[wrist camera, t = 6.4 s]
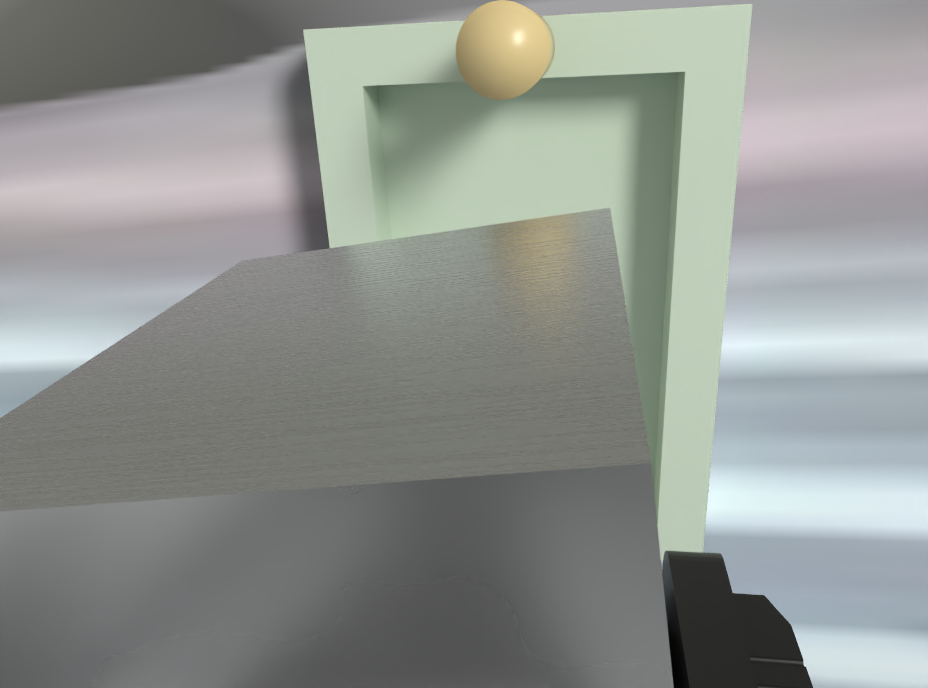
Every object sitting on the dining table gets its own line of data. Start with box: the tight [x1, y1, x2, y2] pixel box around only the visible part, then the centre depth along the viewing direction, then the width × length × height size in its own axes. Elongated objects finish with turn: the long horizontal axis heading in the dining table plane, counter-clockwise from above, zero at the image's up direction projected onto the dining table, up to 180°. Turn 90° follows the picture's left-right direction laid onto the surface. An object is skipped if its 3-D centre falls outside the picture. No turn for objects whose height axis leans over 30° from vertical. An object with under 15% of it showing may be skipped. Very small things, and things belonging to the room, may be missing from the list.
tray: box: [303, 0, 752, 561], centre depth 20 cm, size 11×16×6 cm
